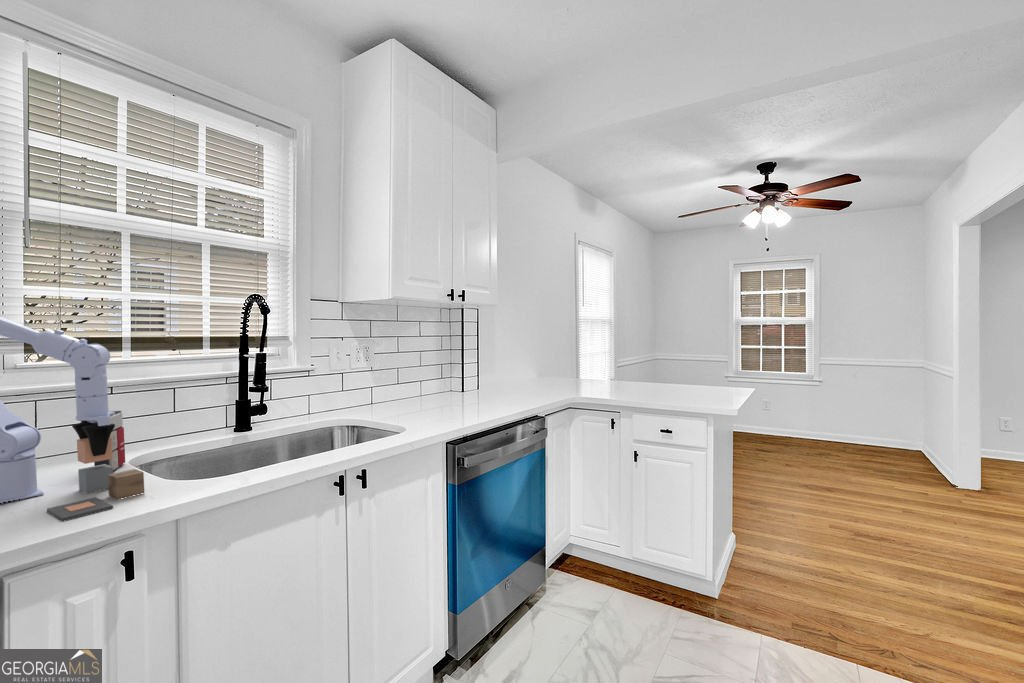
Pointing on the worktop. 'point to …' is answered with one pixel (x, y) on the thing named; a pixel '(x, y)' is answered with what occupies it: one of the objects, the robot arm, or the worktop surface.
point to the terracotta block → (86, 453)
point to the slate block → (94, 478)
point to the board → (79, 508)
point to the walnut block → (126, 483)
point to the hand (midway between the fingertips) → (94, 453)
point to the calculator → (116, 442)
